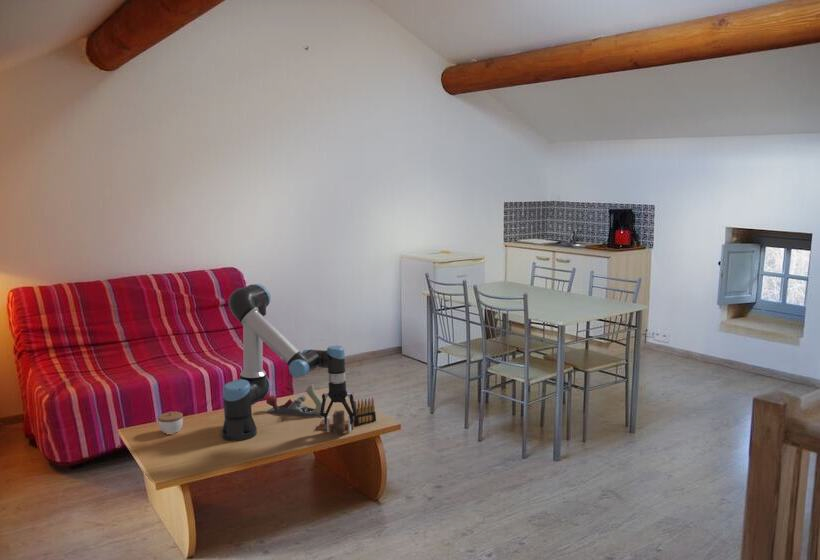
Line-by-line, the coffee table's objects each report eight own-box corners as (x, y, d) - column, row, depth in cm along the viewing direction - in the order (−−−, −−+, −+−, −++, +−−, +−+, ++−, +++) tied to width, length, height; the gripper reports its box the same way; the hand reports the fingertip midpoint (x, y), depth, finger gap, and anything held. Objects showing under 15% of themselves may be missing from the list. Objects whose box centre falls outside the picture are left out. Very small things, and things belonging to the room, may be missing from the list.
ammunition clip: (374, 421, 328) (373, 396, 326) (376, 422, 327) (375, 397, 325) (353, 425, 323) (352, 400, 321) (355, 426, 321) (353, 401, 320)
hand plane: (323, 418, 333) (322, 387, 331) (264, 413, 342) (262, 383, 340) (329, 413, 340) (328, 383, 338) (271, 408, 349) (269, 379, 347)
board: (319, 429, 318) (319, 424, 318) (321, 425, 324) (321, 419, 323) (352, 429, 317) (352, 424, 317) (354, 425, 322) (354, 419, 322)
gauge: (333, 435, 311) (332, 413, 310) (337, 426, 321) (336, 405, 319) (342, 435, 311) (341, 413, 309) (346, 426, 321) (345, 405, 319)
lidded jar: (159, 438, 313) (157, 417, 311) (158, 430, 322) (156, 410, 321) (185, 434, 317) (183, 414, 315) (183, 426, 326) (181, 406, 325)
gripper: (311, 384, 307) (313, 433, 311) (360, 383, 306) (362, 433, 309) (314, 379, 315) (316, 427, 318) (362, 378, 313) (364, 427, 317)
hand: (339, 430), depth 314 cm, fingers open, 9 cm apart
